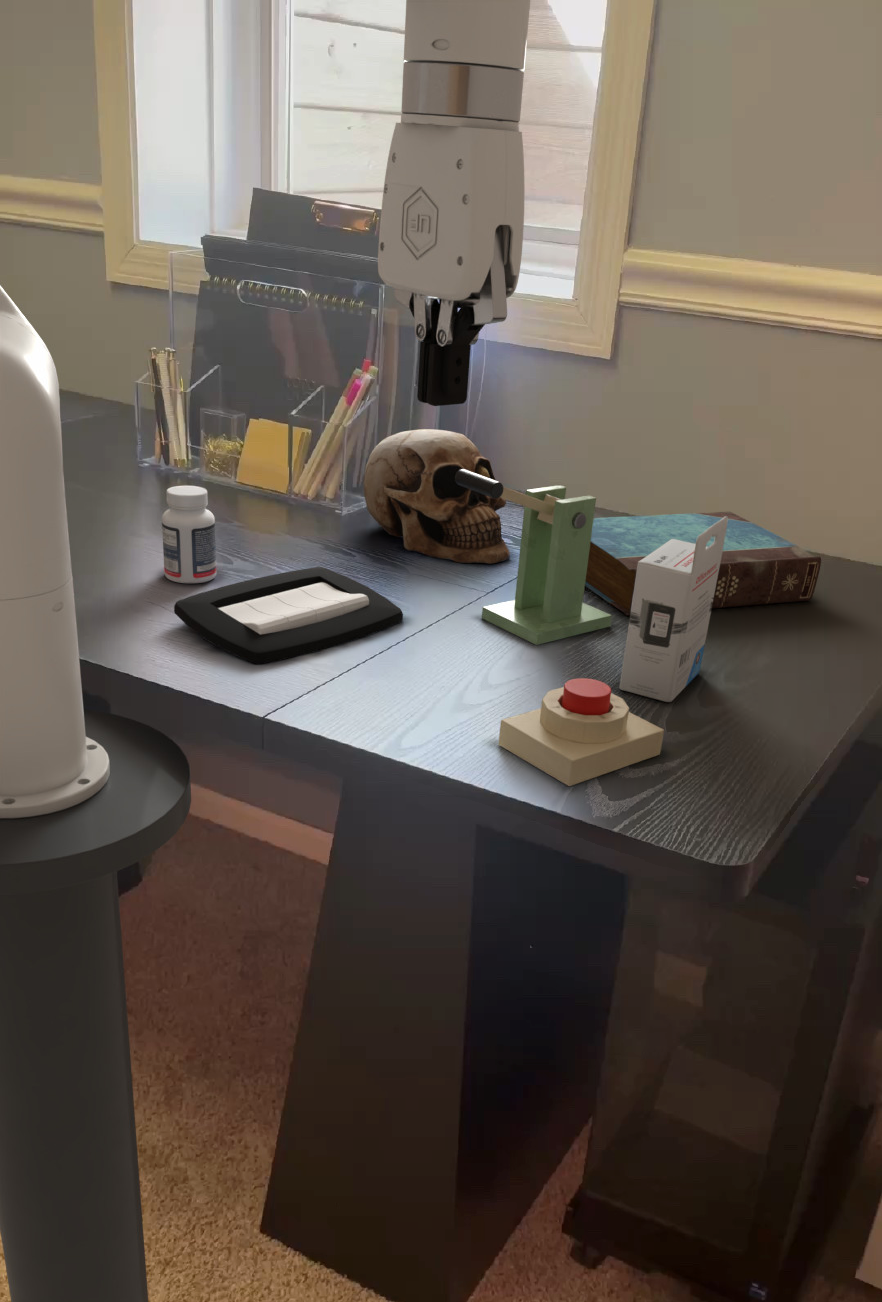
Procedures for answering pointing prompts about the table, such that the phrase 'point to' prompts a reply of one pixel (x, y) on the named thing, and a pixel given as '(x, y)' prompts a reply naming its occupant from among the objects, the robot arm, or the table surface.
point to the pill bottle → (188, 536)
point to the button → (586, 696)
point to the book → (749, 556)
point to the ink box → (671, 615)
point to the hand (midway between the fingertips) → (441, 401)
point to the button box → (579, 739)
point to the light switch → (287, 614)
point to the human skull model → (434, 496)
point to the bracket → (552, 574)
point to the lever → (506, 493)
